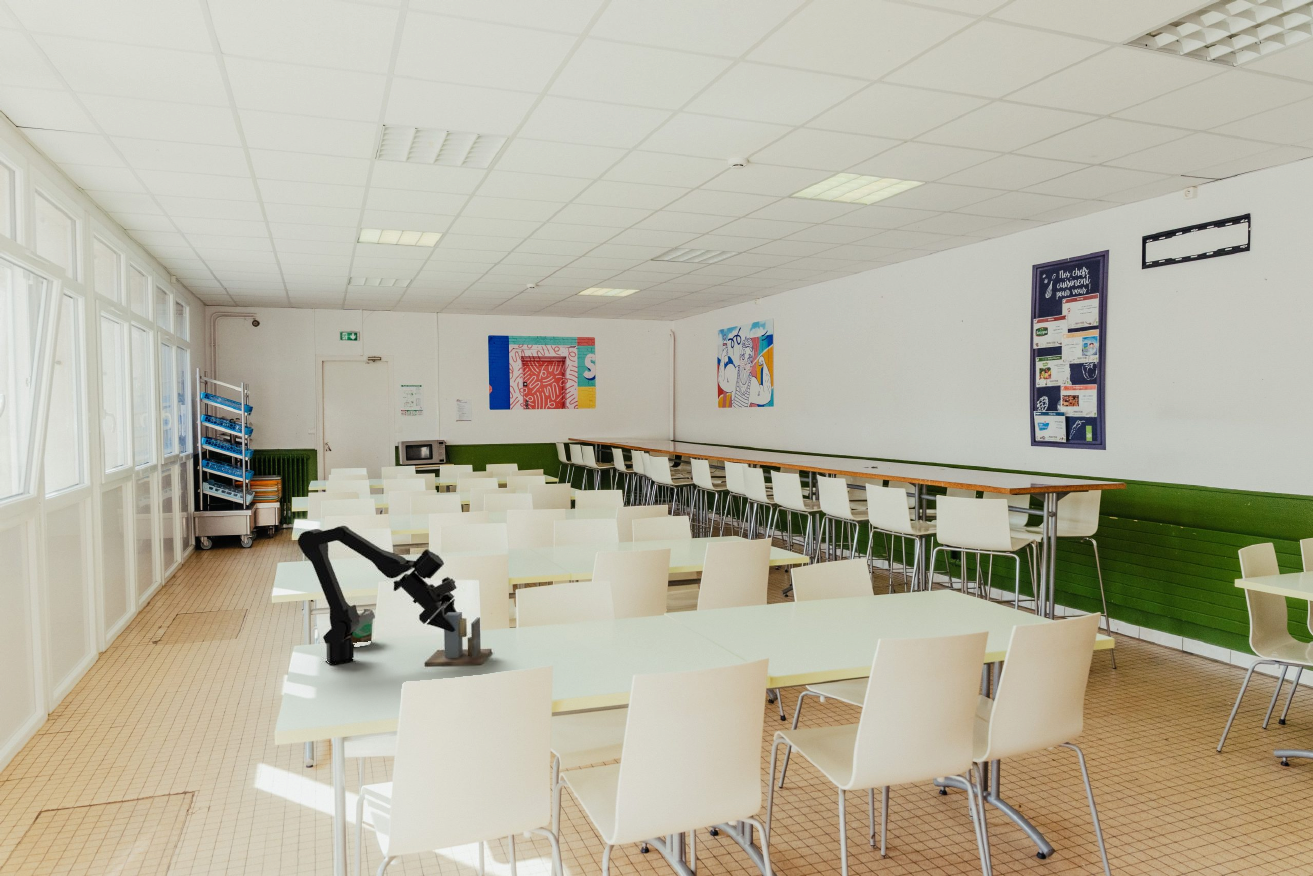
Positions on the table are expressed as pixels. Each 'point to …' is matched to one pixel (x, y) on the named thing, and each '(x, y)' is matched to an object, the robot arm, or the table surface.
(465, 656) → the hinge jig
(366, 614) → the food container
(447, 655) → the loose hinge leaf
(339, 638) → the robot arm
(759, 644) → the table surface
